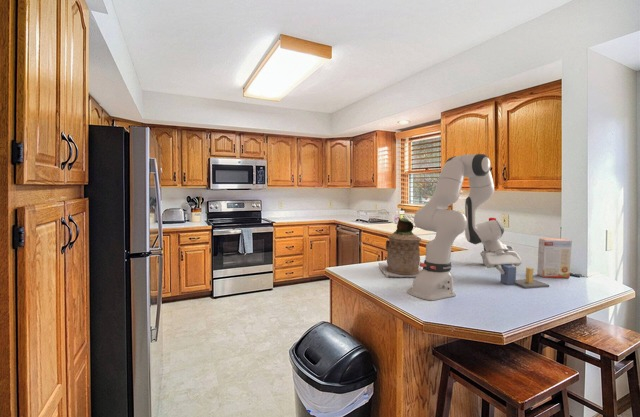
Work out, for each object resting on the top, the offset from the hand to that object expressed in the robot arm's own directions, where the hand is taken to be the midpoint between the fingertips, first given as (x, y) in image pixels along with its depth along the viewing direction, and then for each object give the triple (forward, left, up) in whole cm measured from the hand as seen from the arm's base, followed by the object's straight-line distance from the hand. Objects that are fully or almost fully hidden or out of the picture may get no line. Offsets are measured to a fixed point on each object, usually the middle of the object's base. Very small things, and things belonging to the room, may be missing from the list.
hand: (509, 273), depth 160 cm
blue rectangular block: (0, +1, -5) cm, 5 cm away
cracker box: (+34, -8, -6) cm, 36 cm away
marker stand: (+7, -6, -5) cm, 11 cm away
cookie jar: (-28, +46, -6) cm, 54 cm away
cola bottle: (+30, +24, -6) cm, 39 cm away
